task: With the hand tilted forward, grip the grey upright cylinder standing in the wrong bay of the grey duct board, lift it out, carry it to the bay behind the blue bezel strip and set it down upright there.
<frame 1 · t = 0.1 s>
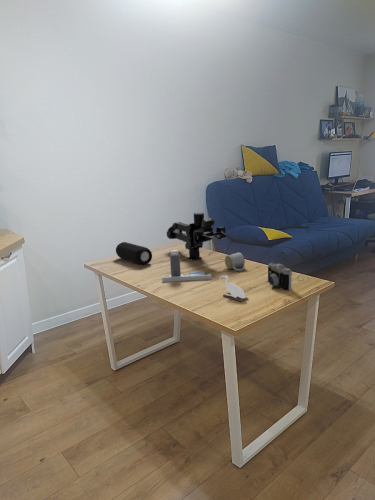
hand: (218, 237, 180), 17 cm above the table, tool horizontal, fingers open, 9 cm apart
camera: (276, 286, 157), on the table
ceramic mug: (236, 269, 184), on the table
duct board: (186, 277, 174), on the table
grey upright cylinder: (176, 276, 174), point 1 cm above the table, touching duct board
portable speaker: (134, 261, 207), on the table
figurine: (231, 297, 148), on the table
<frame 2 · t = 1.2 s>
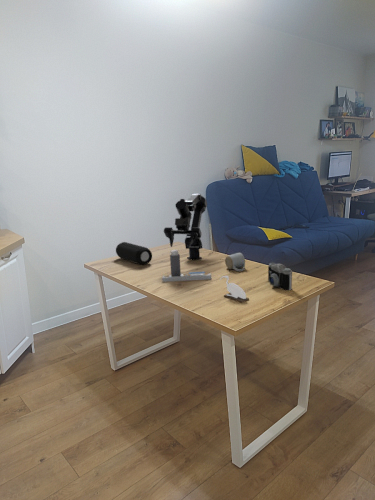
hand: (179, 246, 178), 14 cm above the table, tool tilted 45°, fingers open, 9 cm apart
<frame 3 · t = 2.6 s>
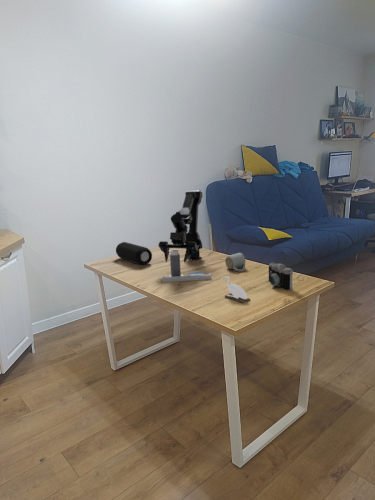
hand: (175, 261, 172), 8 cm above the table, tool tilted 45°, fingers open, 9 cm apart
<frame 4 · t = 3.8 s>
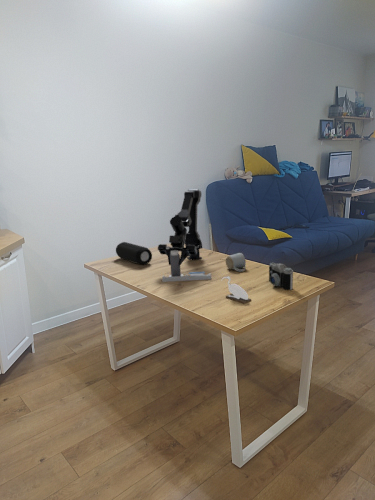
hand: (174, 264, 171), 7 cm above the table, tool tilted 45°, fingers closed on grey upright cylinder, 5 cm apart
grey upright cylinder: (176, 276, 174), point 1 cm above the table, touching duct board, gripper
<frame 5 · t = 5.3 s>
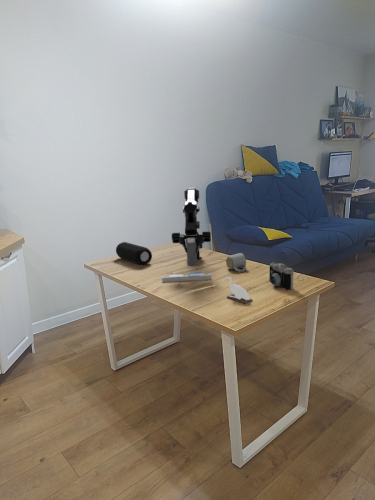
hand: (191, 252, 169), 13 cm above the table, tool tilted 45°, fingers closed on grey upright cylinder, 5 cm apart
grey upright cylinder: (192, 264, 172), point 6 cm above the table, touching gripper
when the fingers open (8 cm above the table, at t = 6.9 s): grey upright cylinder drops 1 cm, resting on duct board.
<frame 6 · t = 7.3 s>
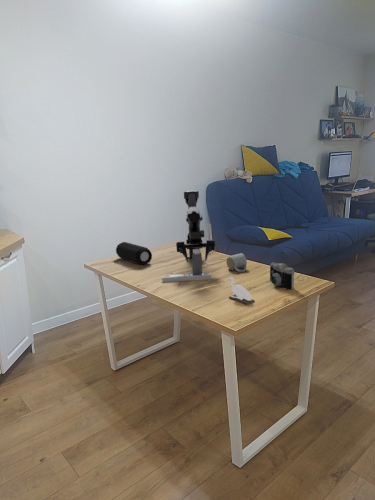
hand: (196, 261, 171), 8 cm above the table, tool tilted 45°, fingers open, 8 cm apart
grey upright cylinder: (197, 275, 174), point 1 cm above the table, touching duct board
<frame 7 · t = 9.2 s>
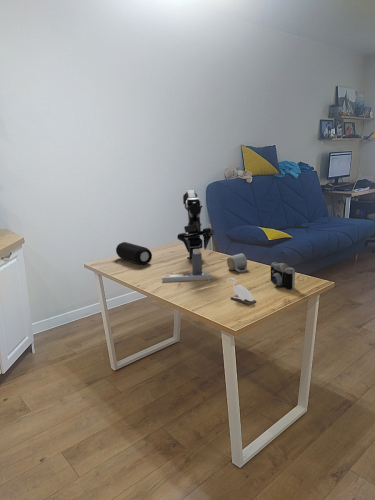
hand: (196, 250, 181), 10 cm above the table, tool tilted 25°, fingers open, 9 cm apart
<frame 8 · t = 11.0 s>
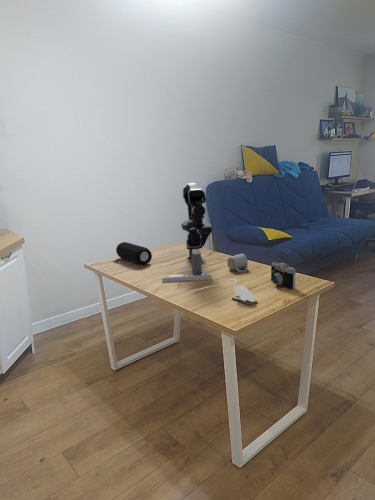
hand: (198, 244, 184), 13 cm above the table, tool pointing down, fingers open, 9 cm apart
at the end: grey upright cylinder 0.1 cm from the target spot, point 0.6 cm above the table; grey upright cylinder tilted 1°; the gripper is holding nothing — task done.
